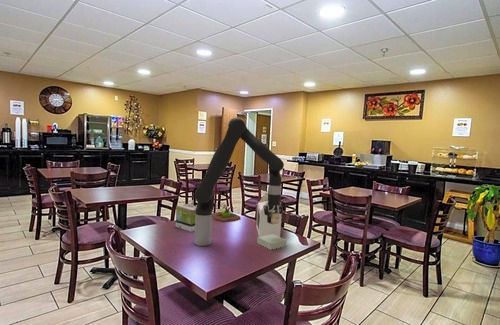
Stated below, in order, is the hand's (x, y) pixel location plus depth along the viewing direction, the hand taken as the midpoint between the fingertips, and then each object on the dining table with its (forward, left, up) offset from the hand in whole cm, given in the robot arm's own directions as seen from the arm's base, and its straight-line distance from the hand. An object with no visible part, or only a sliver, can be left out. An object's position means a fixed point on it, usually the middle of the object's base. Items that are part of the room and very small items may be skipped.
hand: (272, 221), depth 167 cm
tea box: (-51, -29, -14) cm, 60 cm away
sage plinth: (0, 0, -14) cm, 14 cm away
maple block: (0, 0, -1) cm, 1 cm away
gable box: (-19, +13, -14) cm, 27 cm away
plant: (-60, +6, -15) cm, 62 cm away
